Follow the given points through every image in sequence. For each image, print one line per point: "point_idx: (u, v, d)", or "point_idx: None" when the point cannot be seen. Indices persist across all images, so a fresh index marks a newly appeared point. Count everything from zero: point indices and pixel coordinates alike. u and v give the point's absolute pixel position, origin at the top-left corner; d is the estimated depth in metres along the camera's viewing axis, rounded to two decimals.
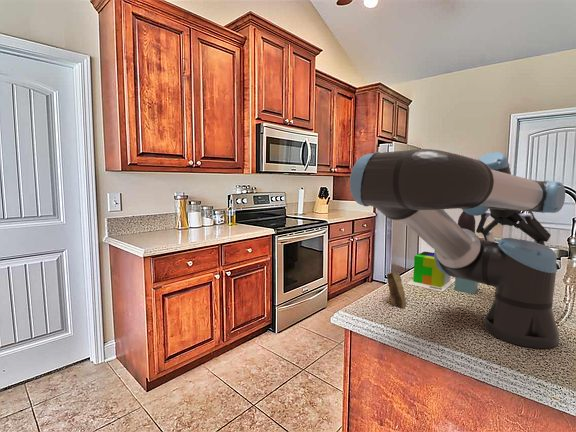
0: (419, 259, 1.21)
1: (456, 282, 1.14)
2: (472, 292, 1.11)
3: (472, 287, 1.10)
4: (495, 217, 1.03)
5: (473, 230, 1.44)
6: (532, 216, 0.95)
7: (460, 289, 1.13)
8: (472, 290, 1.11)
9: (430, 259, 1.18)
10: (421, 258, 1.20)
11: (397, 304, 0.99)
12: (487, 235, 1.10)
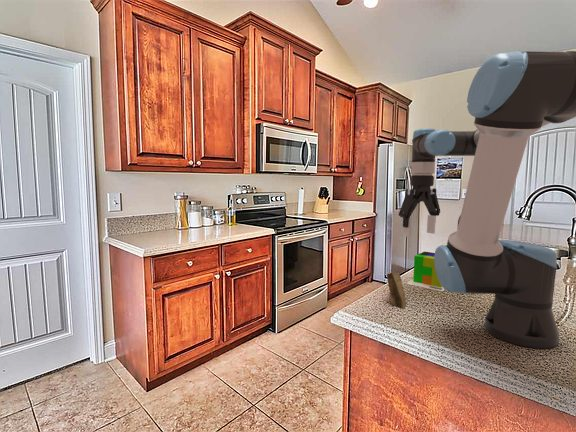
0: (419, 259, 1.21)
1: None
2: None
3: None
4: (419, 193, 1.11)
5: None
6: None
7: None
8: None
9: (430, 259, 1.18)
10: (421, 258, 1.20)
11: (397, 304, 0.99)
12: None
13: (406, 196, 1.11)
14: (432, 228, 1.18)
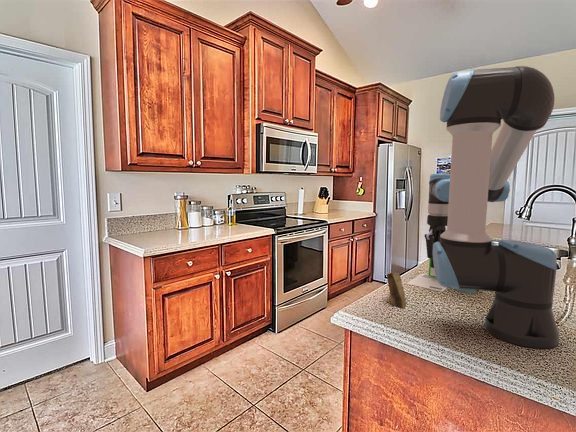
0: None
1: None
2: (472, 292, 1.11)
3: None
4: (436, 231, 1.20)
5: None
6: None
7: (460, 289, 1.13)
8: (472, 290, 1.11)
9: None
10: None
11: (397, 304, 0.99)
12: None
13: (427, 241, 1.21)
14: None
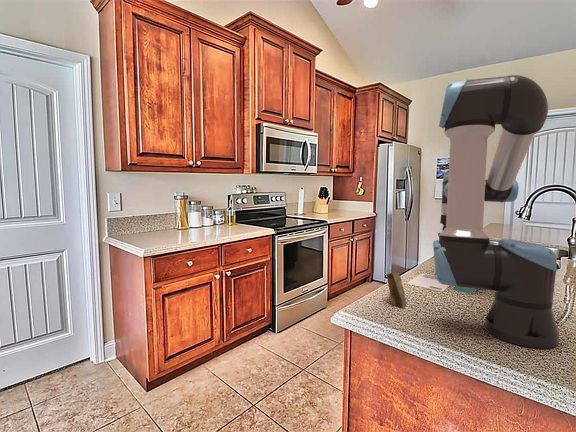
0: None
1: None
2: (472, 292, 1.11)
3: None
4: None
5: None
6: None
7: (460, 289, 1.13)
8: (472, 290, 1.11)
9: None
10: None
11: (397, 304, 0.99)
12: None
13: None
14: None
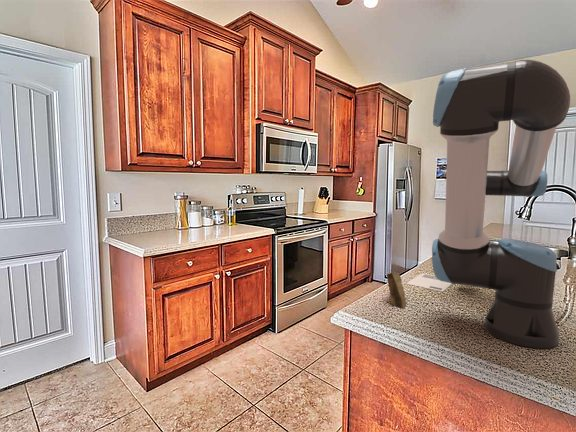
0: None
1: None
2: None
3: None
4: None
5: None
6: None
7: None
8: None
9: None
10: None
11: (397, 304, 0.99)
12: None
13: None
14: None
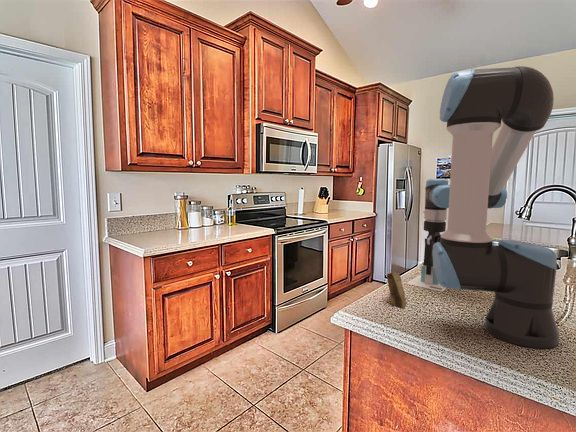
0: None
1: (422, 274, 1.23)
2: (436, 283, 1.20)
3: (436, 278, 1.19)
4: (435, 237, 1.19)
5: None
6: None
7: None
8: (436, 281, 1.20)
9: None
10: None
11: (397, 304, 0.99)
12: (432, 266, 1.20)
13: (426, 246, 1.18)
14: None
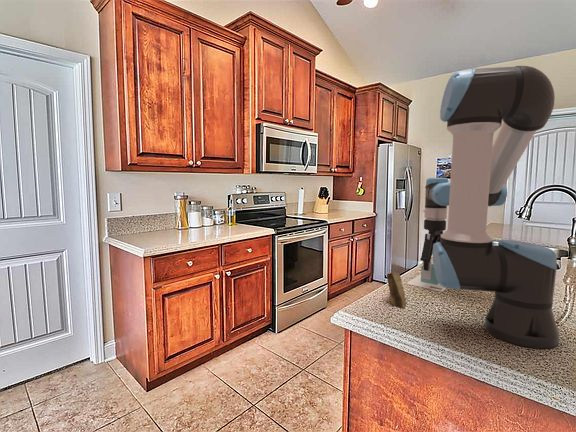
0: None
1: None
2: (436, 283, 1.20)
3: (436, 278, 1.19)
4: (435, 237, 1.19)
5: None
6: None
7: (425, 280, 1.22)
8: (436, 281, 1.20)
9: None
10: None
11: (397, 304, 0.99)
12: None
13: (426, 241, 1.16)
14: None
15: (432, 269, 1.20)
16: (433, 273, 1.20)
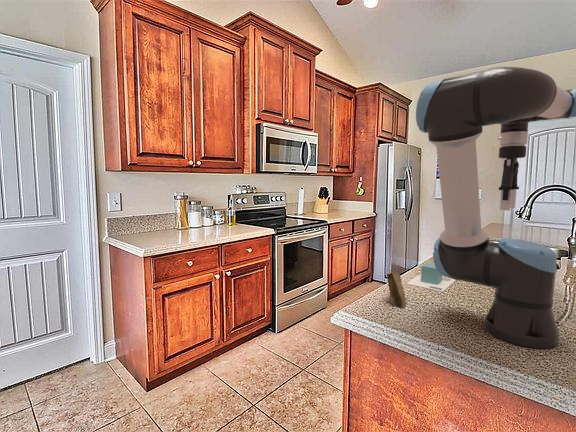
0: None
1: (422, 274, 1.23)
2: (436, 283, 1.20)
3: (436, 278, 1.19)
4: (514, 164, 1.07)
5: None
6: None
7: (425, 280, 1.22)
8: (436, 281, 1.20)
9: None
10: None
11: (397, 304, 0.99)
12: (510, 190, 1.04)
13: (505, 167, 1.04)
14: (513, 202, 1.15)
15: (432, 269, 1.20)
16: (433, 273, 1.20)
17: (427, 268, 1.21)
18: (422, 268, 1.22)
